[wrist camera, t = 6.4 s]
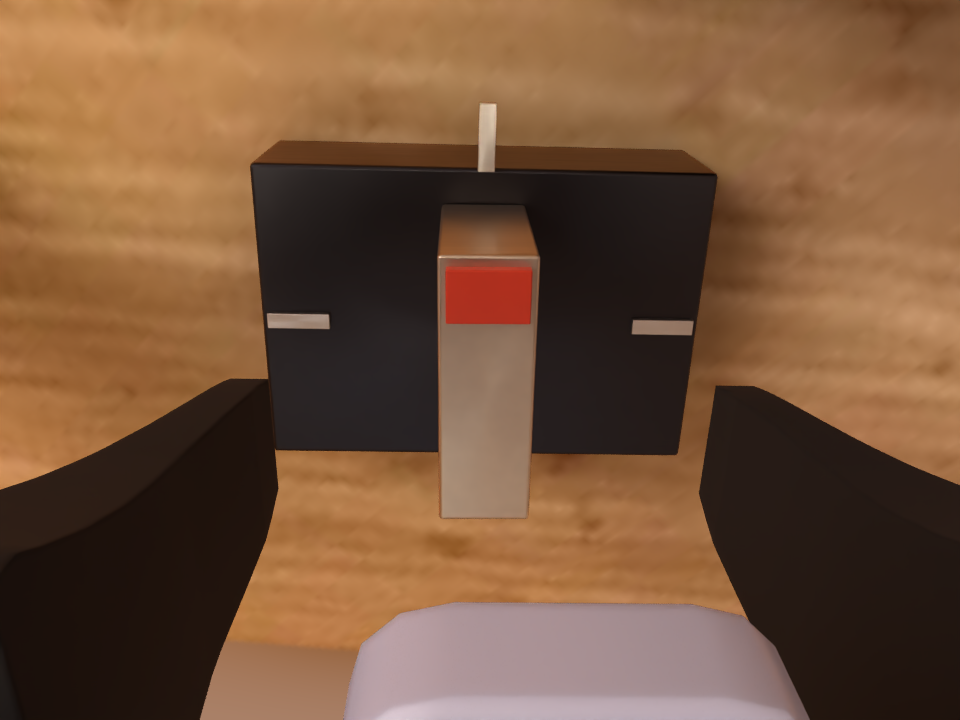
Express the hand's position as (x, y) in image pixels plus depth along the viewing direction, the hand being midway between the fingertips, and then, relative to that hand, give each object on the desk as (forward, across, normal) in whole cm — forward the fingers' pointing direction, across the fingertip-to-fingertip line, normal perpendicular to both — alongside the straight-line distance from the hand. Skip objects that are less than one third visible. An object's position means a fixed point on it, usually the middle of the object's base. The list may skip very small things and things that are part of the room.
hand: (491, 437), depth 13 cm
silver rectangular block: (+6, 0, 0) cm, 6 cm away
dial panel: (+9, 0, 0) cm, 9 cm away
